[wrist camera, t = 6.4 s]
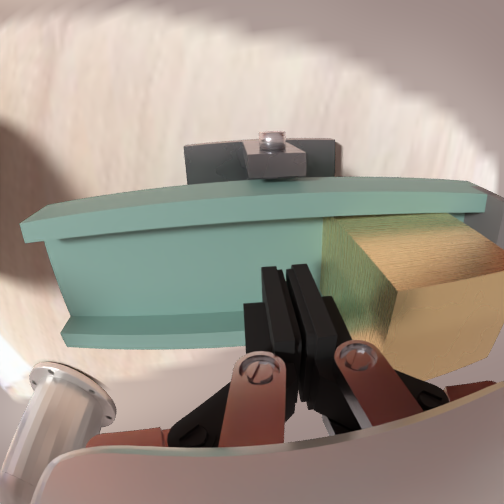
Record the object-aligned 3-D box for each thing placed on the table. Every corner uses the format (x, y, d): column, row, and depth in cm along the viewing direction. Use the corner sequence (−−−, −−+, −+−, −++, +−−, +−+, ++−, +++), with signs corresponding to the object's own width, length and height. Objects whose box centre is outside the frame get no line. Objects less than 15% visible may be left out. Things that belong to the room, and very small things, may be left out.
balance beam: (445, 286, 17) (479, 322, 14) (83, 317, 16) (58, 363, 13) (467, 181, 14) (515, 203, 10) (47, 204, 13) (2, 235, 9)
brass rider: (416, 276, 15) (486, 357, 9) (319, 289, 15) (367, 396, 9) (429, 202, 13) (525, 265, 7) (323, 206, 13) (397, 291, 7)
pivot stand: (325, 274, 24) (360, 343, 17) (202, 283, 24) (192, 359, 16) (330, 126, 19) (387, 136, 12) (184, 132, 19) (153, 144, 11)
